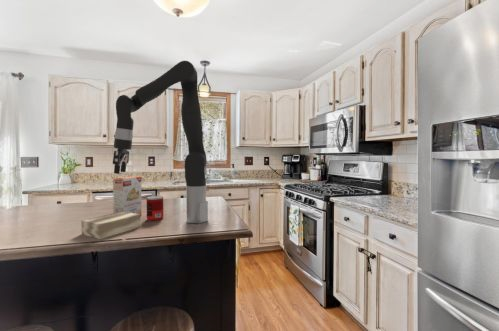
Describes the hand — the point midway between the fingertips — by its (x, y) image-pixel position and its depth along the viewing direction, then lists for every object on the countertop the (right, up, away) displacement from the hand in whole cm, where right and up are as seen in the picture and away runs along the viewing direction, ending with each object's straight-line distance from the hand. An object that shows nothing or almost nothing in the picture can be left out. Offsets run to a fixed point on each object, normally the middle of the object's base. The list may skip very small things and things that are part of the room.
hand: (119, 172), depth 119 cm
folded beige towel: (+4, -24, -13) cm, 28 cm away
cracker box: (+1, -23, +6) cm, 24 cm away
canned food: (+15, -23, +6) cm, 28 cm away
